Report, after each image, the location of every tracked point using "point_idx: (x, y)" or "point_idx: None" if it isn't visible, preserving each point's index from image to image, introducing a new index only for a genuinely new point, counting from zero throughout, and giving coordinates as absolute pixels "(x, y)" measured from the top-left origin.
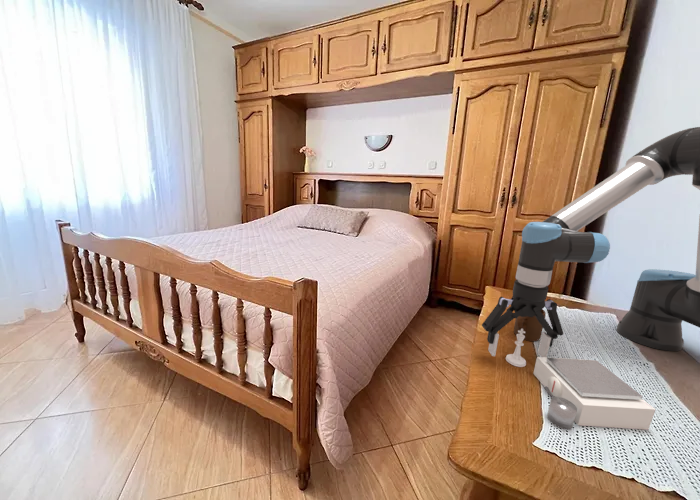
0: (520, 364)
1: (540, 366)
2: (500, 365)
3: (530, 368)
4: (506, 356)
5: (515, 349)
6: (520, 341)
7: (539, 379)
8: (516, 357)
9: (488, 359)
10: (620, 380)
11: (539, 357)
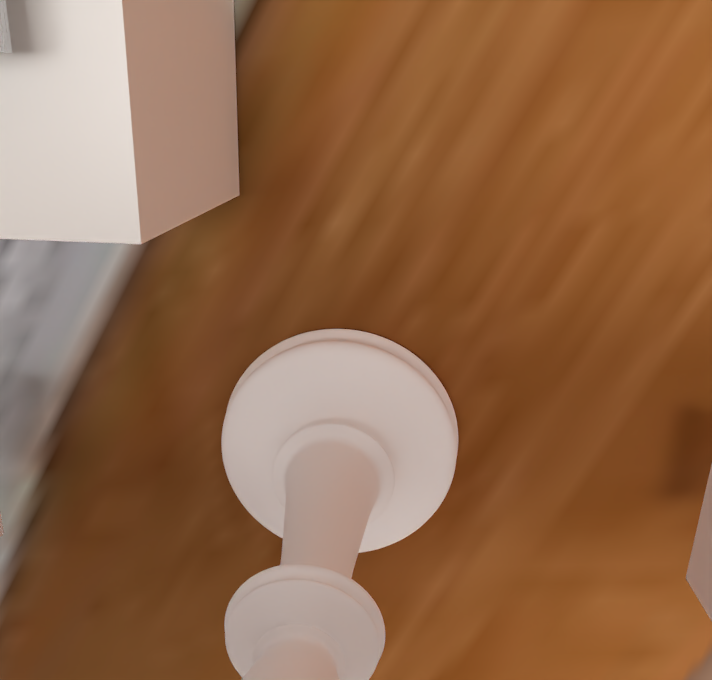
0: (340, 345)
1: (169, 77)
2: (603, 349)
3: (219, 305)
4: (440, 504)
5: (357, 552)
6: (306, 657)
7: (231, 42)
8: (360, 444)
9: (694, 465)
10: None
11: (100, 221)
